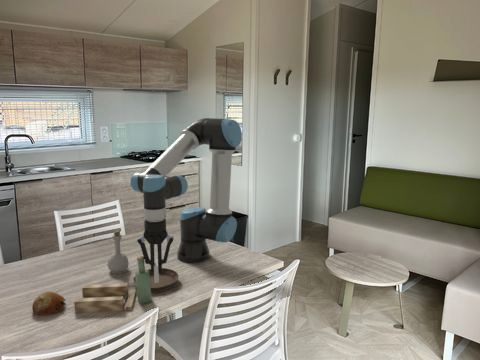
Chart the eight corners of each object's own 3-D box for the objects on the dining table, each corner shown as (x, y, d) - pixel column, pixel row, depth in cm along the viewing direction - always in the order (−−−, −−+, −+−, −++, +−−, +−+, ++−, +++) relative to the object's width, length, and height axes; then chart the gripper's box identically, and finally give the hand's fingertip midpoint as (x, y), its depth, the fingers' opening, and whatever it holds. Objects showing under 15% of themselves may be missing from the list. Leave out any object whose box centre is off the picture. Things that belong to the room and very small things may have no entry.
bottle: (152, 296, 153) (148, 253, 149) (151, 302, 148) (146, 259, 144) (138, 297, 152) (134, 255, 149) (137, 304, 147) (132, 260, 144)
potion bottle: (123, 275, 171) (121, 234, 167) (104, 273, 172) (101, 233, 169) (133, 267, 179) (131, 228, 175) (114, 265, 181) (112, 226, 177)
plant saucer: (157, 298, 152) (157, 291, 152) (124, 286, 161) (123, 279, 161) (187, 281, 167) (187, 274, 166) (155, 271, 176) (155, 264, 175)
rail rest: (136, 292, 156) (135, 282, 155) (131, 309, 143) (130, 299, 142) (84, 294, 154) (83, 284, 153) (75, 312, 141) (74, 301, 140)
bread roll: (46, 311, 149) (34, 293, 147) (71, 299, 149) (60, 281, 147) (35, 326, 139) (22, 307, 137) (62, 313, 139) (50, 294, 137)
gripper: (174, 215, 149) (175, 276, 153) (137, 216, 147) (139, 277, 152) (173, 221, 142) (174, 284, 146) (134, 222, 140) (137, 286, 145)
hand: (156, 281), depth 149 cm, fingers closed
